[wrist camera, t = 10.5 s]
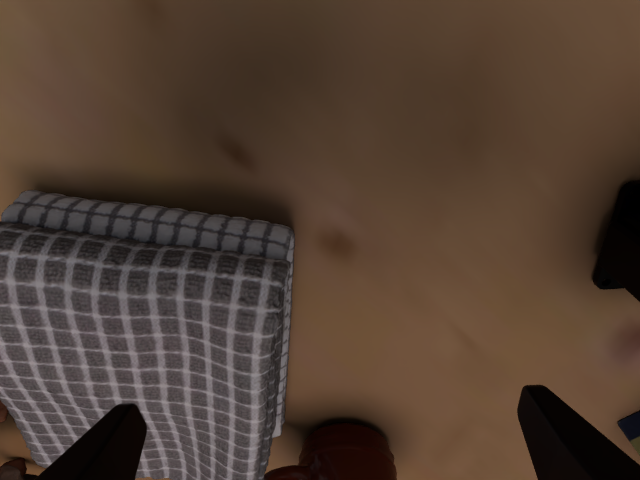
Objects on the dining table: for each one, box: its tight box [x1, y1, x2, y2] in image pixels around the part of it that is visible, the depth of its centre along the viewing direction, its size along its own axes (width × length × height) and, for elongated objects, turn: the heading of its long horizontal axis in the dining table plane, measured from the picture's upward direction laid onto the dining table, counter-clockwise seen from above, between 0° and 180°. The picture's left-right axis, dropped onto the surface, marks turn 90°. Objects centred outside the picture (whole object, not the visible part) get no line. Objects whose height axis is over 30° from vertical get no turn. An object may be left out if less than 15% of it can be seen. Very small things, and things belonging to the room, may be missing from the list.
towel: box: [0, 190, 295, 480], centre depth 22 cm, size 15×18×8 cm
